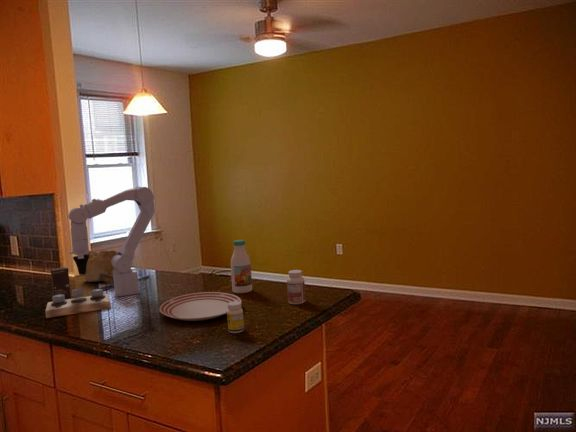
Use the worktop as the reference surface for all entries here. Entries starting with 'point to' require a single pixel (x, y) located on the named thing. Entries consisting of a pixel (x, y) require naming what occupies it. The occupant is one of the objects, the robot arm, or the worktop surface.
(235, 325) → the supplement bottle
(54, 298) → the button
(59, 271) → the box
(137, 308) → the worktop surface
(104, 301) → the button board
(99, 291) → the button
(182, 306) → the dinner plate
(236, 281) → the milk bottle
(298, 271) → the pill bottle
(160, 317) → the worktop surface
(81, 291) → the button middle
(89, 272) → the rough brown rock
